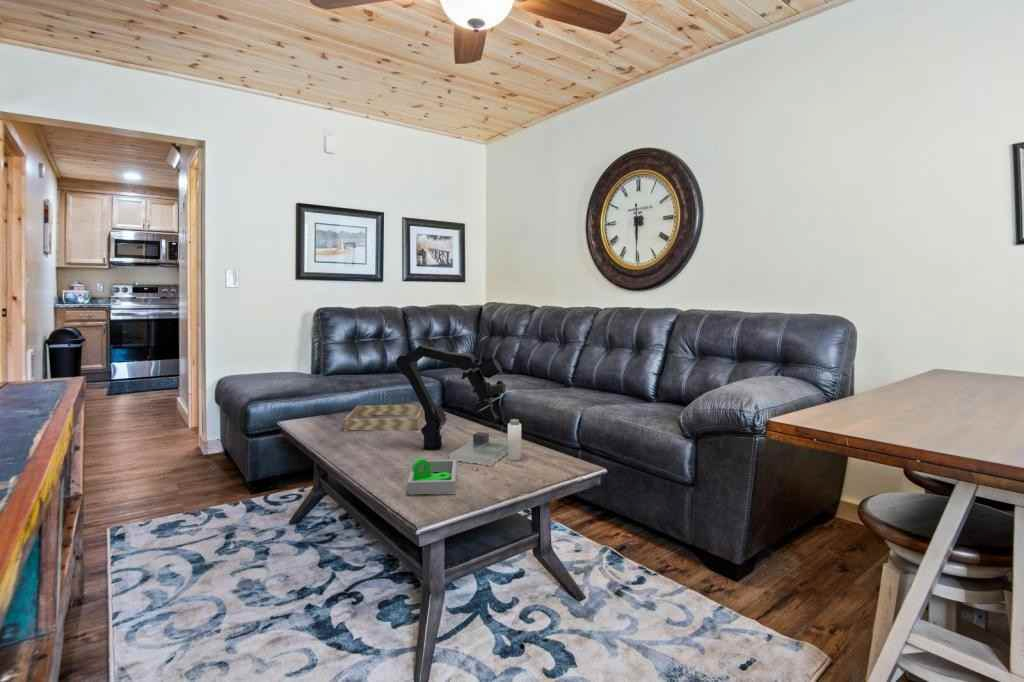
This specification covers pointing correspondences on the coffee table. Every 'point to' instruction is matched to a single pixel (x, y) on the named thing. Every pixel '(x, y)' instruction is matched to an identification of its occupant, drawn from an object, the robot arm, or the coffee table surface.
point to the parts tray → (434, 485)
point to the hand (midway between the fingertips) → (498, 420)
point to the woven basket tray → (384, 424)
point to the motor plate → (481, 450)
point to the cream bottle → (514, 440)
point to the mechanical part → (427, 472)
